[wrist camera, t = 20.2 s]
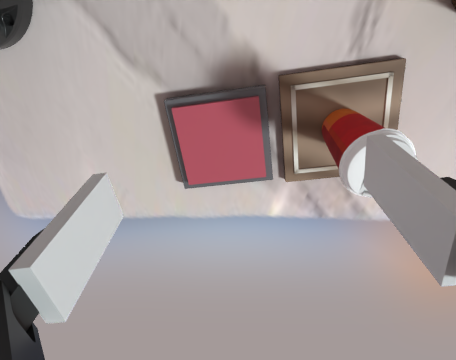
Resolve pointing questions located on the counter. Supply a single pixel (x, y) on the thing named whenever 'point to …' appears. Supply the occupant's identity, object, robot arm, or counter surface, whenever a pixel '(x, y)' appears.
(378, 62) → the marked board
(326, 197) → the counter surface
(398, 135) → the paper cup
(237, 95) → the ink pad
